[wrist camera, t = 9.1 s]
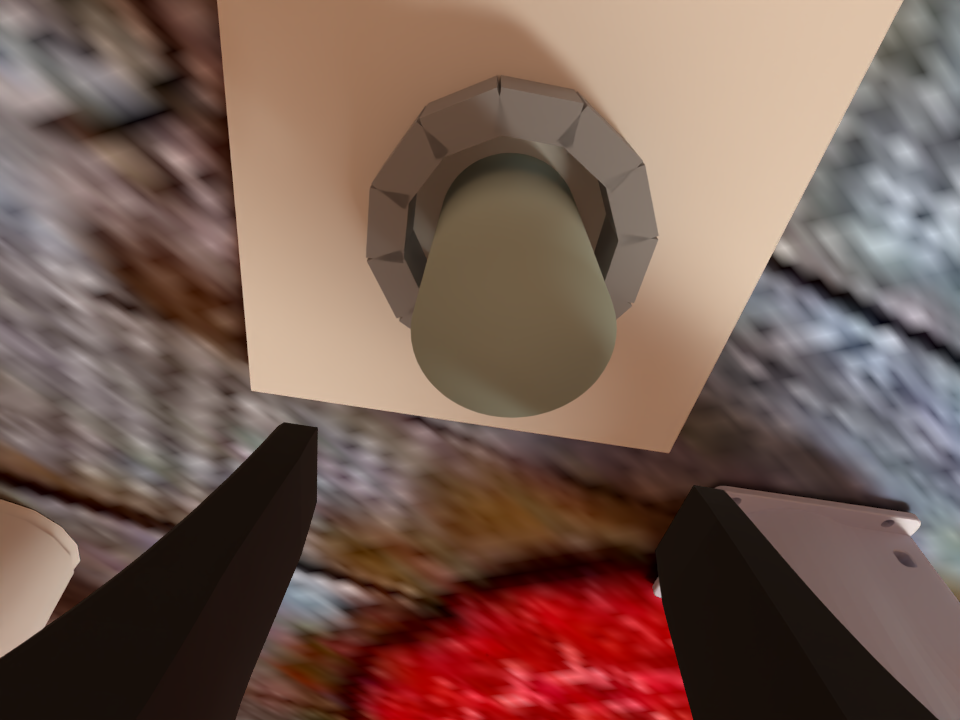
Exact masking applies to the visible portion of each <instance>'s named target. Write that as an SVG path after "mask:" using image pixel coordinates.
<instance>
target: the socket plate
mask: <svg viewBox="0 0 960 720" xmlns="http://www.w3.org/2000/svg"><path fill="white" fill-rule="evenodd" d="M902 2H903V0H217V6H218V17H219V28H220V40H221V51H222V63H223V74H224V85H225V97H226V108H227V120H228V131H229V142H230V154H231V165H232V176H233V188H234V199H235V211H236V222H237V233H238V245H239V256H240V268H241V279H242V290H243V302H244V313H245V324H246V336H247V347H248V359H249V370H250V381H251V391H257V392H264V393H271V394H277V395H284V396H291V397H297V398H304V399H311V400H317V401H324V402H331V403H337V404H344V405H351V406H357V407H364V408H371V409H377V410H384V411H391V412H397V413H404V414H411V415H417V416H424V417H431V418H437V419H444V420H451V421H457V422H464V423H471V424H477V425H484V426H491V427H497V428H504V429H511V430H517V431H524V432H531V433H537V434H544V435H551V436H557V437H564V438H571V439H577V440H584V441H591V442H597V443H604V444H611V445H617V446H624V447H631V448H637V449H644V450H651V451H657V452H664V453H669V452H670V450H671V448H672V447H673V445H674V443H675V441H676V439H677V437H678V435H679V433H680V431H681V429H682V427H683V425H684V423H685V421H686V419H687V418H688V416H689V414H690V412H691V410H692V408H693V406H694V404H695V402H696V400H697V398H698V396H699V394H700V392H701V390H702V388H703V387H704V385H705V383H706V381H707V379H708V377H709V375H710V373H711V371H712V369H713V367H714V365H715V363H716V361H717V359H718V358H719V356H720V354H721V352H722V350H723V348H724V346H725V344H726V342H727V340H728V338H729V336H730V334H731V332H732V330H733V329H734V327H735V325H736V323H737V321H738V319H739V317H740V315H741V313H742V311H743V309H744V307H745V305H746V303H747V301H748V300H749V298H750V296H751V294H752V292H753V290H754V288H755V286H756V284H757V282H758V280H759V278H760V276H761V274H762V272H763V270H764V269H765V267H766V265H767V263H768V261H769V259H770V257H771V255H772V253H773V251H774V249H775V247H776V245H777V243H778V241H779V240H780V238H781V236H782V234H783V232H784V230H785V228H786V226H787V224H788V222H789V220H790V218H791V216H792V214H793V212H794V211H795V209H796V207H797V205H798V203H799V201H800V199H801V197H802V195H803V193H804V191H805V189H806V187H807V185H808V183H809V182H810V180H811V178H812V176H813V174H814V172H815V170H816V168H817V166H818V164H819V162H820V160H821V158H822V156H823V154H824V152H825V151H826V149H827V147H828V145H829V143H830V141H831V139H832V137H833V135H834V133H835V131H836V129H837V127H838V125H839V123H840V122H841V120H842V118H843V116H844V114H845V112H846V110H847V108H848V106H849V104H850V102H851V100H852V98H853V96H854V94H855V93H856V91H857V89H858V87H859V85H860V83H861V81H862V79H863V77H864V75H865V73H866V71H867V69H868V67H869V65H870V64H871V62H872V60H873V58H874V56H875V54H876V52H877V50H878V48H879V46H880V44H881V42H882V40H883V38H884V36H885V34H886V33H887V31H888V29H889V27H890V25H891V23H892V21H893V19H894V17H895V15H896V13H897V11H898V9H899V7H900V5H901V4H902ZM501 153H519V154H525V155H529V156H532V157H535V158H537V159H539V160H541V161H544V162H545V163H547V164H548V165H550V166H551V167H552V168H553V169H555V170H556V171H557V172H558V173H559V174H560V175H561V177H562V178H563V179H564V180H565V182H566V183H567V185H568V187H569V188H570V191H571V193H572V195H573V198H574V200H575V203H576V206H577V208H578V211H579V214H580V216H581V219H582V222H583V225H584V227H585V230H586V233H587V235H588V238H589V241H590V243H591V246H592V249H593V252H594V254H595V257H596V260H597V262H598V265H599V268H600V270H601V273H602V276H603V279H604V281H605V284H606V287H607V289H608V292H609V295H610V297H611V300H612V303H613V307H614V310H615V315H616V323H617V331H616V341H615V346H614V350H613V353H612V355H611V358H610V360H609V362H608V364H607V366H606V368H605V370H604V371H603V373H602V374H601V376H600V377H599V378H598V380H597V381H596V382H595V383H594V384H593V385H592V386H591V387H590V388H589V389H588V390H587V391H586V392H584V393H583V394H582V395H581V396H579V397H578V398H576V399H575V400H573V401H572V402H570V403H568V404H566V405H564V406H562V407H560V408H558V409H555V410H553V411H550V412H547V413H543V414H539V415H534V416H528V417H517V418H508V417H496V416H489V415H485V414H481V413H477V412H474V411H472V410H469V409H466V408H464V407H462V406H460V405H458V404H456V403H455V402H453V401H451V400H450V399H448V398H447V397H445V396H444V395H443V394H442V393H441V392H439V391H438V390H437V389H436V388H435V387H434V386H433V385H432V384H431V383H430V382H429V380H428V379H427V377H426V376H425V375H424V373H423V372H422V370H421V368H420V366H419V364H418V363H417V360H416V357H415V354H414V352H413V347H412V342H411V320H412V314H413V311H414V307H415V303H416V299H417V296H418V292H419V288H420V285H421V281H422V278H423V274H424V270H425V267H426V263H427V259H428V256H429V252H430V248H431V245H432V241H433V238H434V234H435V230H436V227H437V223H438V219H439V216H440V212H441V208H442V205H443V201H444V198H445V196H446V193H447V191H448V189H449V188H450V186H451V184H452V183H453V181H454V180H455V179H456V177H457V176H458V175H459V174H460V173H461V172H462V171H463V170H464V169H466V168H467V167H468V166H470V165H471V164H473V163H474V162H476V161H478V160H480V159H482V158H485V157H488V156H491V155H495V154H501Z"/></svg>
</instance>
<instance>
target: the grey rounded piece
mask: <svg viewBox="0 0 960 720" xmlns="http://www.w3.org/2000/svg"><path fill="white" fill-rule="evenodd" d="M616 331H617V323H616V315H615V310H614V307H613V303H612V300H611V297H610V295H609V292H608V289H607V287H606V284H605V281H604V279H603V276H602V273H601V270H600V268H599V265H598V262H597V260H596V257H595V254H594V252H593V249H592V246H591V243H590V241H589V238H588V235H587V233H586V230H585V227H584V225H583V222H582V219H581V216H580V214H579V211H578V208H577V206H576V203H575V200H574V198H573V195H572V193H571V191H570V188H569V187H568V185H567V183H566V182H565V180H564V179H563V178H562V177H561V175H560V174H559V173H558V172H557V171H556V170H555V169H553V168H552V167H551V166H550V165H548V164H547V163H545V162H544V161H541V160H539V159H537V158H535V157H532V156H529V155H525V154H519V153H501V154H495V155H491V156H488V157H485V158H482V159H480V160H478V161H476V162H474V163H473V164H471V165H470V166H468V167H467V168H466V169H464V170H463V171H462V172H461V173H460V174H459V175H458V176H457V177H456V179H455V180H454V181H453V183H452V184H451V186H450V188H449V189H448V191H447V193H446V196H445V198H444V201H443V205H442V208H441V212H440V216H439V219H438V223H437V227H436V230H435V234H434V238H433V241H432V245H431V248H430V252H429V256H428V259H427V263H426V267H425V270H424V274H423V278H422V281H421V285H420V288H419V292H418V296H417V299H416V303H415V307H414V311H413V314H412V320H411V342H412V347H413V352H414V354H415V357H416V360H417V363H418V364H419V366H420V368H421V370H422V372H423V373H424V375H425V376H426V377H427V379H428V380H429V382H430V383H431V384H432V385H433V386H434V387H435V388H436V389H437V390H438V391H439V392H441V393H442V394H443V395H444V396H445V397H447V398H448V399H450V400H451V401H453V402H455V403H456V404H458V405H460V406H462V407H464V408H466V409H469V410H472V411H474V412H477V413H481V414H485V415H489V416H496V417H508V418H517V417H528V416H534V415H539V414H543V413H547V412H550V411H553V410H555V409H558V408H560V407H562V406H564V405H566V404H568V403H570V402H572V401H573V400H575V399H576V398H578V397H579V396H581V395H582V394H583V393H584V392H586V391H587V390H588V389H589V388H590V387H591V386H592V385H593V384H594V383H595V382H596V381H597V380H598V378H599V377H600V376H601V374H602V373H603V371H604V370H605V368H606V366H607V364H608V362H609V360H610V358H611V355H612V353H613V350H614V346H615V341H616Z"/></svg>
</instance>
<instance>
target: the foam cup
mask: <svg viewBox="0 0 960 720" xmlns="http://www.w3.org/2000/svg"><path fill="white" fill-rule="evenodd" d="M79 562H80V557H79V552H78V546H77V544H76V543H75V542H74V540H73V539H72V538H71V537H70V536H69V535H68V534H67V533H66V531H65V530H64V529H63V528H62V527H61V526H59V525H58V524H56V523H54V522H53V521H51V520H49V519H48V518H46V517H45V516H43V515H41V514H40V513H38V512H36V511H35V510H32V509H29V508H26V507H23V506H20V505H17V504H14V503H11V502H8V501H5V500H2V499H0V658H1V657H2V656H4V655H5V654H7V653H8V652H10V651H11V650H13V649H14V648H16V647H17V646H19V645H20V644H22V643H23V642H25V641H26V640H27V639H29V638H30V637H32V636H33V635H35V634H36V633H37V632H39V631H40V630H42V629H43V628H44V627H45V625H46V623H47V621H48V620H49V618H50V616H51V614H52V612H53V610H54V609H55V607H56V605H57V603H58V601H59V599H60V598H61V596H62V594H63V592H64V590H65V588H66V587H67V585H68V583H69V581H70V579H71V577H72V576H73V574H74V569H75V567H76V566H77V564H78V563H79Z"/></svg>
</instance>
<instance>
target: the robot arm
mask: <svg viewBox="0 0 960 720" xmlns="http://www.w3.org/2000/svg"><path fill="white" fill-rule="evenodd" d="M317 439H318V428H317V427H311V426H304V425H298V424H291V423H285V422H284V423H282V424H281V425H279V426H278V427H277V428H276V429H275V430H274V431H273V432H272V433H271V434H270V435H269V436H268V438H267V439H266V440H265V441H264V442H263V443H262V444H261V445H260V446H259V447H258V448H257V449H256V450H255V451H254V452H253V453H252V454H251V455H250V456H249V457H248V458H247V459H246V461H244V462H243V463H242V464H241V465H240V466H239V467H238V468H237V469H236V470H235V471H234V472H233V473H232V474H231V475H230V476H229V477H228V478H227V479H226V480H225V481H224V482H223V483H222V484H221V485H220V486H219V487H218V488H217V489H216V490H215V491H214V492H212V493H211V494H210V495H209V496H208V497H207V498H206V499H205V500H204V501H203V502H202V503H201V504H200V505H199V506H198V507H197V508H195V509H194V510H193V511H192V512H191V513H190V514H189V515H188V516H187V517H185V518H184V519H183V520H182V521H181V522H180V523H178V524H177V525H176V526H175V527H174V528H173V529H171V530H170V531H169V532H168V533H167V534H166V535H164V536H163V537H162V538H161V539H160V540H159V541H157V542H156V543H155V544H154V545H153V546H152V547H150V548H149V549H148V550H147V551H146V552H144V553H143V554H142V555H141V556H140V557H138V558H137V559H136V560H135V561H133V562H132V563H131V564H130V565H128V566H127V567H126V568H125V569H123V570H122V571H121V572H120V573H118V574H117V575H116V576H114V577H113V578H112V579H111V580H109V581H108V582H107V583H105V584H104V585H103V586H101V587H100V588H99V589H97V590H96V591H95V592H93V593H92V594H91V595H89V596H88V597H87V598H85V599H84V600H83V601H81V602H80V603H79V604H77V605H76V606H74V607H73V608H72V609H70V610H69V611H67V612H66V613H65V614H63V615H62V616H60V617H59V618H57V619H56V620H55V621H53V622H52V623H50V624H49V625H47V626H46V627H45V628H43V629H42V630H40V631H39V632H37V633H36V634H35V635H33V636H32V637H30V638H29V639H27V640H26V641H25V642H23V643H22V644H20V645H19V646H17V647H16V648H14V649H13V650H11V651H10V652H8V653H7V654H5V655H4V656H2V657H1V658H0V720H235V719H236V716H237V713H238V710H239V707H240V704H241V701H242V698H243V695H244V693H245V690H246V688H247V685H248V682H249V680H250V677H251V674H252V672H253V669H254V667H255V665H256V662H257V660H258V657H259V655H260V653H261V650H262V648H263V645H264V643H265V641H266V638H267V636H268V634H269V631H270V629H271V626H272V624H273V622H274V619H275V617H276V614H277V612H278V610H279V607H280V605H281V602H282V600H283V598H284V595H285V593H286V590H287V588H288V586H289V583H290V581H291V578H292V576H293V573H294V571H295V569H296V566H297V564H298V561H299V559H300V556H301V554H302V551H303V547H304V544H305V541H306V537H307V534H308V531H309V527H310V524H311V520H312V517H313V513H314V510H315V506H316V503H317ZM920 525H921V521H920V520H919V519H918V518H917V516H916V515H915V514H913V513H908V512H901V511H894V510H887V509H880V508H874V507H867V506H860V505H853V504H846V503H840V502H833V501H826V500H819V499H812V498H805V497H799V496H792V495H785V494H778V493H771V492H764V491H758V490H751V489H744V488H737V487H730V486H718V487H716V488H708V487H702V486H695V485H694V486H693V487H692V489H691V491H690V492H689V494H688V496H687V497H686V499H685V501H684V503H683V504H682V506H681V508H680V509H679V511H678V513H677V514H676V516H675V518H674V520H673V521H672V523H671V525H670V526H669V528H668V530H667V531H666V533H665V535H664V537H663V538H662V540H661V542H660V543H659V545H658V547H657V548H656V550H655V552H656V560H657V569H658V578H657V580H656V581H655V583H654V585H653V591H654V594H655V596H657V597H660V598H662V603H663V607H664V611H665V615H666V619H667V623H668V627H669V631H670V635H671V638H672V642H673V646H674V650H675V654H676V657H677V661H678V665H679V668H680V672H681V676H682V679H683V683H684V687H685V691H686V694H687V698H688V702H689V705H690V709H691V713H692V716H693V720H960V602H959V601H958V600H957V598H956V597H955V596H954V594H953V593H952V592H951V590H950V589H949V588H948V586H947V585H946V584H945V582H944V581H943V580H942V578H941V577H940V576H939V574H938V573H937V572H936V570H935V569H934V568H933V566H932V565H931V564H930V562H929V561H928V559H927V558H926V557H925V555H924V554H923V553H922V551H921V550H920V549H919V547H918V546H917V545H916V543H915V542H914V541H913V539H912V538H911V537H910V536H911V535H912V534H913V533H914V532H915V531H916V530H917V529H918V528H919V527H920Z"/></svg>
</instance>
